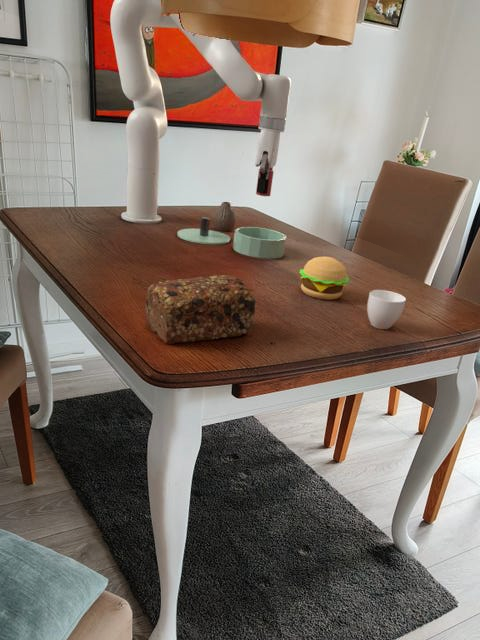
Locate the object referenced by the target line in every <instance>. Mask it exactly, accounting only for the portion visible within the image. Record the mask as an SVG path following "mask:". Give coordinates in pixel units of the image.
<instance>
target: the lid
mask: <svg viewBox="0 0 480 640" xmlns="http://www.w3.org/2000/svg"><path fill="white" fill-rule="evenodd" d="M210 223H211V218H210V217H208V216H202V217H200V223H199V224H200V225H199V226H200V227H199V228H182V229H179V230H178V231H177V233H176V236H177V237H178V238H180V239H182V240H184V241H187V242H190V243H194V244H201V245H209V246H210V245H213V246H217V245H226V244H229V243H230V242H231V237H230V236H229V235H227V234H226V233H223V232H221V231H218V230H212V229H210Z"/></svg>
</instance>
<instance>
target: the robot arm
mask: <svg viewBox="0 0 480 640" xmlns="http://www.w3.org/2000/svg"><path fill="white" fill-rule="evenodd" d="M111 6H112V7H111V10H110V17H109V18H110V20H109V21H110V22H109V23H110V30H111V36H112V42H113V46H114V52H115V58H116V63H117V68H118V73H119V79H120V85H121V89H122V92H123V94H124V95H125V97H126V98H127V99H128V100H130V101H132V103H133V108H134V109H133V110H132V111H131V112H130V113H129V115H128V116H127V119H126V124H125V133H126V135H125V136H126V149H127V154H126V155H127V159H126V161H127V162H126V163H127V166H126V168H127V169H126V211H124V212H121V213H120V214H121V215H120V216H121V217H120V218H121V219H122V220H124V221H126V222H130V223H142V224H143V223H144V224H156V223H160V222H161V221H162V220H163V219H162V216H160V215H158V209H159V204H158V196H159V177H160V176H159V175H160V140H161V139H162V138H164V136H165V135H166V133H167V130H168V117H167V110H166V105H165V99H164V94H163V87H162V83H161V80H160V77H159V75H158V73H157V72H156V70H154V68H153V67H151V66H150V65H149V60H148V55H147V48H146V43H145V40H144V39H145V38H144V36H143V32H142V27H143V26H145V27H150V28H170V29H179V30H180V31H181V33H183V35H184V36H186V38H187V39H188V40H189V41H190V43H191V44H192V45H193V46H194V47H195V48H196V49H197V51H198V52H199V53H200V54H201V56H202V57H203V58H204V59H205V61H206V62H207V63H208V64H209V65H210V66H211V67H212V68H213V70H214V71H215V72H216V74H217V75H218V76H219V77H220V79H221V80H222V81H223V83H225V85H227V87H228V89H230V90H231V91H232V93H233V94H234V95H235V96H236V97H237V99H239V100H241V101H243V102H261V104H260V112H259V122H258V130H260V133H259V137H258V143H257V149H256V156H255V162H254V163H255V167H259V169H260V171H259V170H258V173H259V178H258V177H257V181H258V184H257V183H256V189H257V193H263V194H267V191H268V183H269V180H268V176H269V170H273V171H274V167H275V166H276V165H277V160H278V155H279V147H280V141H281V133H285V128H286V121H287V114H288V108H289V100H290V95H291V94H290V93H291V85H292V80H291V78H290V77H289V76H287V75H282V74H275V73H274V74H273V73H269V74H266V73H262V72H259V71H255V70H254V69H253V68H252V67H251V65H250V64H249V63H248V62H247V61H246V59H244V57H243V56H242V55H241V54H240V52H239V51H238V50H237V48H236V47H235V46H234V44H233V42H232V40H231V39H230V40H226V39H219V38H215V37H208V36H203V35H199V34H195V33H191V32H188V31H186V30H184V29H183V28H182V26H181V23H180V19H179V14H170V15H169V16H166V17H165V16H163V15H162V13H161V12H162V6H161V0H113V3H112V5H111ZM266 170H267V171H266ZM266 172H267V173H266Z"/></svg>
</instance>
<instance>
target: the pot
mask: <svg viewBox="0 0 480 640" xmlns="http://www.w3.org/2000/svg"><path fill="white" fill-rule="evenodd" d="M287 238H288V237H287V235H286V234H285V233H283V232H280V231H277V230H274V229H270V228H265V227H259V226H257V227H256V226H240V227H236V228H235V229H234V236H233V243H232V248H233V250H234V251H235V252H236V253H238V254H241V255H243V256H244V255H245V256H247V257H253V258H257V259H268V260H269V259H281V258H283V256H284V255H285V250H286V244H287Z"/></svg>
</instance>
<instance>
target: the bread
mask: <svg viewBox="0 0 480 640" xmlns="http://www.w3.org/2000/svg"><path fill="white" fill-rule="evenodd" d="M145 299H146V301H145V303H146V305H145V316H146V324H147V325H148V326H149V327H150V330H151V331H153V332H156V334H157V335H158V337H159V338H160V339H161V340H163V342H164V343H165V344H168V345H173V344H176V343H190V342H199V341H209V340H215V339H216V340H217V339H220V338H225V339H226V338H233V337H234V338H235V337H240V336H242V335H248V334H249V333H251V330H252V326H253V321H254V319H255V317H256V308H255V306H256V304H257V301H256V298H255V297H254V295H253V294H252V292H251V290H250V289H249V287H248V286H247V284H246V283H245V282H244V281H243V280H242V279H241V278H238V277H236V276H234V275H230V274H223V275H219V274H217V275H210V276H197V277H190V278H189V277H188V278H185V279H182V278H179V279H172V280H163V281H156V282H154V283H152V284H151V285H150V286H149V287H148V288H147V291H146V295H145Z"/></svg>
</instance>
